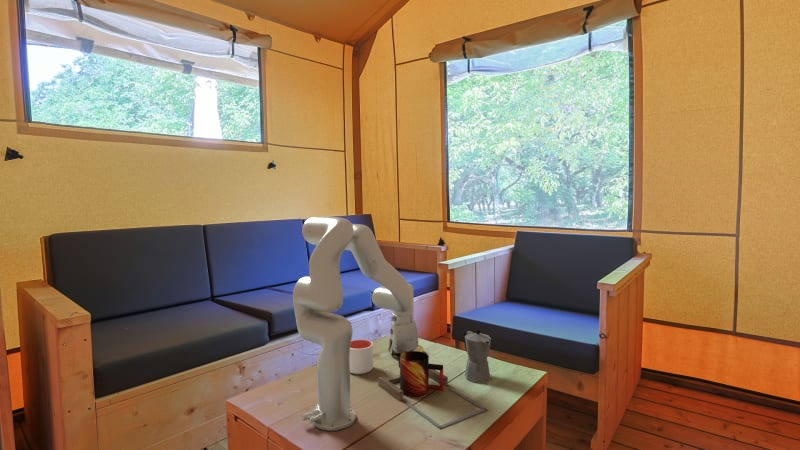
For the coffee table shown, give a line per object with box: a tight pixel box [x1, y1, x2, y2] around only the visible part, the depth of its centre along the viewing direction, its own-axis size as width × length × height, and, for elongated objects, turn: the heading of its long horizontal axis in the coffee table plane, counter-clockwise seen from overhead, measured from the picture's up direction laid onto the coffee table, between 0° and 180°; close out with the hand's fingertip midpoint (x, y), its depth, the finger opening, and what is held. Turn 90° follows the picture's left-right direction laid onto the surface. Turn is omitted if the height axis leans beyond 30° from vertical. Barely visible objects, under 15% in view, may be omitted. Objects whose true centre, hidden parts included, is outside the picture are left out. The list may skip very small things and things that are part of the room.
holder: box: [377, 369, 449, 402], centre depth 148 cm, size 20×14×3 cm
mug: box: [399, 351, 444, 399], centre depth 144 cm, size 10×14×12 cm
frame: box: [405, 387, 489, 430], centre depth 133 cm, size 19×17×1 cm
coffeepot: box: [462, 328, 492, 384], centre depth 154 cm, size 15×9×18 cm, turn 26°
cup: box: [350, 339, 374, 375], centre depth 161 cm, size 10×10×10 cm
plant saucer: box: [387, 343, 424, 360], centre depth 177 cm, size 15×15×3 cm
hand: (403, 368), depth 153 cm, fingers closed
